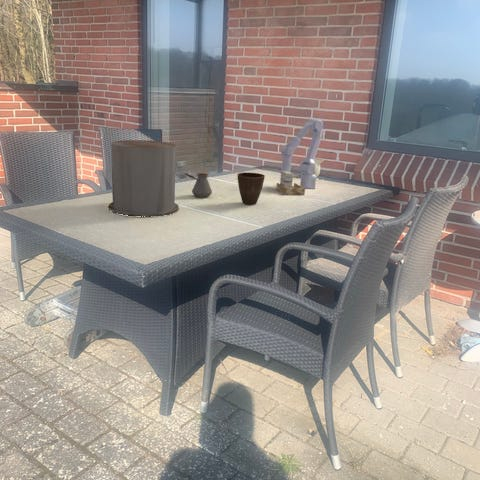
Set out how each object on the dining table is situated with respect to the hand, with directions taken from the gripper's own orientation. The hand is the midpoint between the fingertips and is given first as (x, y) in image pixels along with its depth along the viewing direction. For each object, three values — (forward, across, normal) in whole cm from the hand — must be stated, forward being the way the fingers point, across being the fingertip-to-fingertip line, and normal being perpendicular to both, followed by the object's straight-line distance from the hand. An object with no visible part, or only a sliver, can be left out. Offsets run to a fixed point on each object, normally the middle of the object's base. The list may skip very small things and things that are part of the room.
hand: (284, 186), depth 322 cm
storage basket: (+2, +50, -93) cm, 105 cm away
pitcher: (+2, -39, +34) cm, 51 cm away
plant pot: (+2, +40, -35) cm, 53 cm away
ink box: (+2, +7, -2) cm, 7 cm away
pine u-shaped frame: (+1, +10, 0) cm, 10 cm away
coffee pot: (+2, +26, -62) cm, 67 cm away
